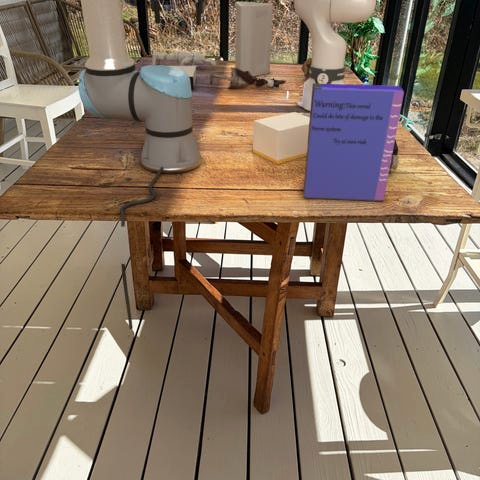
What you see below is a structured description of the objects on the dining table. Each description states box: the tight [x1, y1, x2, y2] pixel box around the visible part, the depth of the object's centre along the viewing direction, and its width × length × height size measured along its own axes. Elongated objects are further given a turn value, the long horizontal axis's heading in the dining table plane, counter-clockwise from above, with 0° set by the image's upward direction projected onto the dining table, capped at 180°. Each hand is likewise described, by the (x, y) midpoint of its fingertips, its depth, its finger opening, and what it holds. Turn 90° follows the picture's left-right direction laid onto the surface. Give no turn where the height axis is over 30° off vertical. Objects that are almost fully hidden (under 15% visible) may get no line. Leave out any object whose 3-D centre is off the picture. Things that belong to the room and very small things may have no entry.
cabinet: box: [252, 111, 310, 165], centre depth 129 cm, size 14×10×9 cm
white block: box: [234, 1, 274, 77], centre depth 210 cm, size 19×15×28 cm
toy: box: [151, 50, 218, 69], centre depth 224 cm, size 24×25×7 cm
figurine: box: [209, 66, 287, 89], centre depth 190 cm, size 24×8×30 cm
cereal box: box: [302, 83, 405, 202], centre depth 102 cm, size 17×5×24 cm, turn 86°
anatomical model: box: [301, 56, 312, 81], centre depth 205 cm, size 13×9×15 cm
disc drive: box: [169, 65, 197, 91], centre depth 196 cm, size 18×22×5 cm
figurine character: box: [388, 138, 399, 176], centre depth 121 cm, size 7×8×15 cm
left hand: (178, 24), depth 151 cm, fingers open, 13 cm apart
